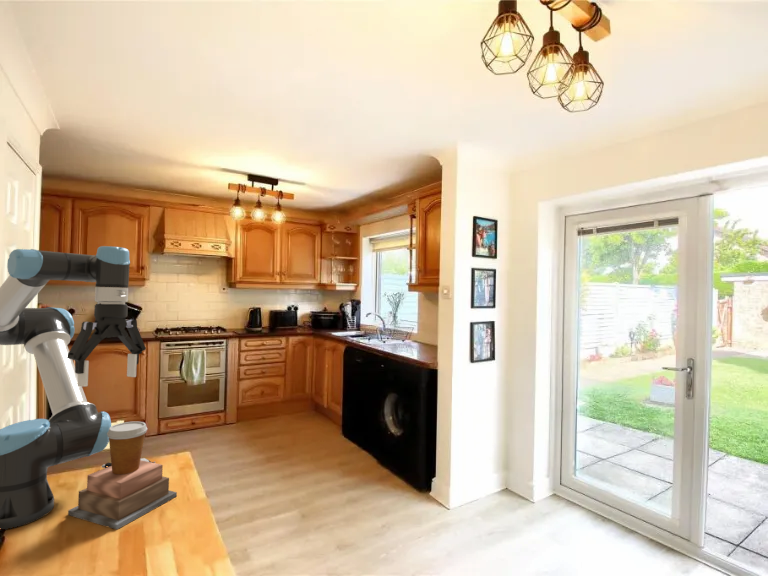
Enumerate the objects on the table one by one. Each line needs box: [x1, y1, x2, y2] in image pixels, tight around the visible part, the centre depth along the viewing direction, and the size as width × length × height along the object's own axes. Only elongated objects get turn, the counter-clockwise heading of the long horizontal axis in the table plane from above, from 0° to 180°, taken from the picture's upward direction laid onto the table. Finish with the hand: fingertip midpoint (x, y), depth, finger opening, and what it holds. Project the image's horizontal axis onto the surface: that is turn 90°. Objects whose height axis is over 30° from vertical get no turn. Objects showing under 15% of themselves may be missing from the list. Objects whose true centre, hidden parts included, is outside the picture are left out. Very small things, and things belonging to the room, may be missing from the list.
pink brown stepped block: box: [67, 460, 178, 530], centre depth 111 cm, size 18×18×10 cm
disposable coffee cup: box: [107, 421, 148, 475], centre depth 111 cm, size 10×10×12 cm
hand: (108, 381), depth 109 cm, fingers open, 13 cm apart
